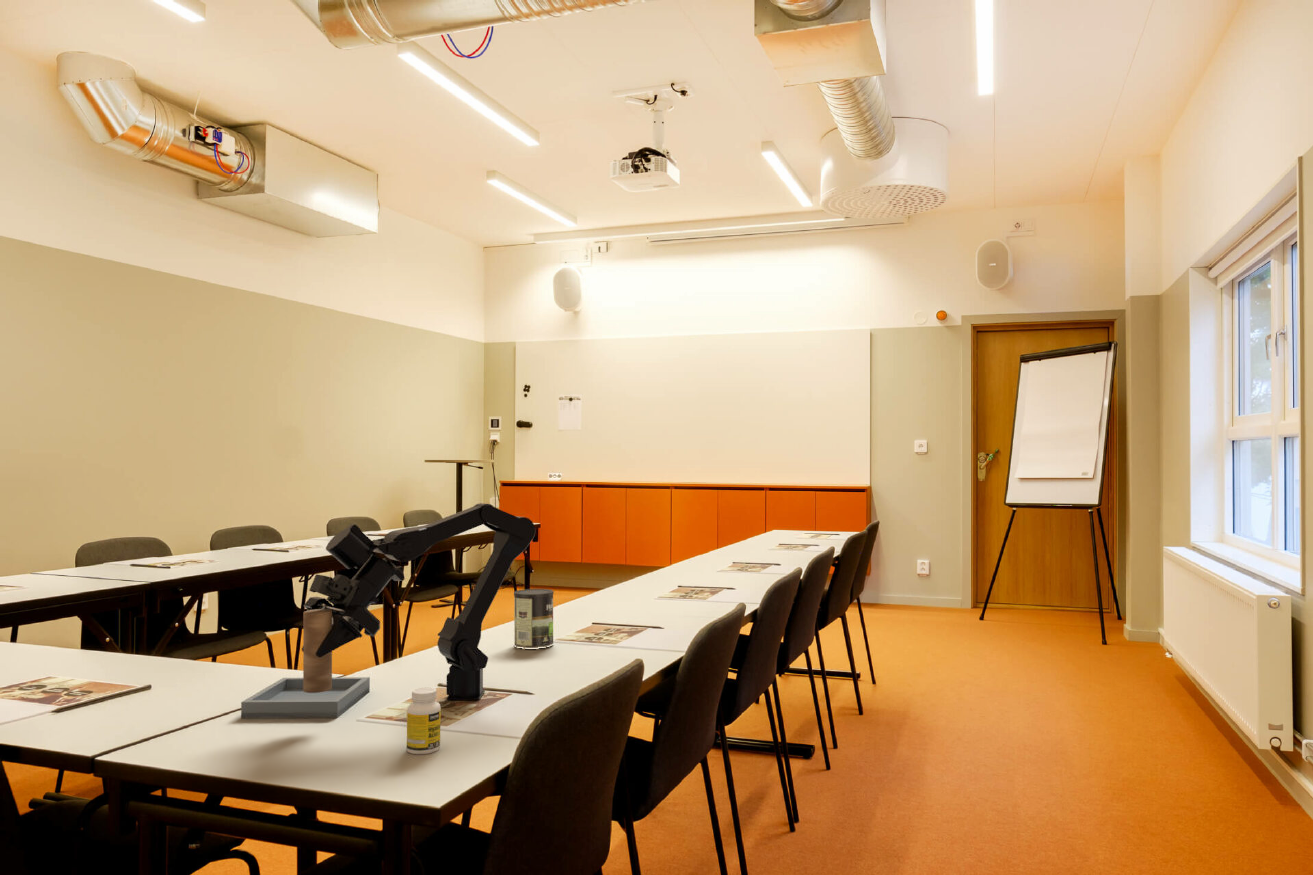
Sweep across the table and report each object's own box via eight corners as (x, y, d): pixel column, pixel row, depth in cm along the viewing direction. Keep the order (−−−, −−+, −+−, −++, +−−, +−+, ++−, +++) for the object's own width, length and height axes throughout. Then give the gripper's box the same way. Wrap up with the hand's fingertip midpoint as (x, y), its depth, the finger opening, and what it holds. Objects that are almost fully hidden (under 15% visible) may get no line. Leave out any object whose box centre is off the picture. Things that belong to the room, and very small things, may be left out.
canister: (335, 685, 156) (335, 608, 156) (326, 692, 151) (326, 613, 151) (309, 685, 156) (309, 609, 156) (298, 692, 151) (299, 613, 151)
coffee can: (556, 641, 226) (556, 588, 226) (550, 649, 216) (550, 594, 216) (517, 641, 226) (517, 588, 226) (510, 650, 216) (510, 594, 216)
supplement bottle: (431, 756, 138) (431, 695, 138) (400, 754, 139) (400, 693, 139) (446, 745, 143) (446, 686, 143) (416, 743, 144) (416, 685, 144)
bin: (369, 691, 177) (369, 677, 177) (337, 717, 159) (337, 701, 159) (283, 692, 177) (283, 677, 177) (241, 718, 159) (241, 702, 159)
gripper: (314, 554, 163) (255, 620, 154) (364, 561, 151) (304, 633, 142) (352, 590, 169) (297, 656, 160) (404, 600, 156) (348, 671, 148)
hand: (310, 653), depth 152 cm, fingers closed on canister, 5 cm apart
